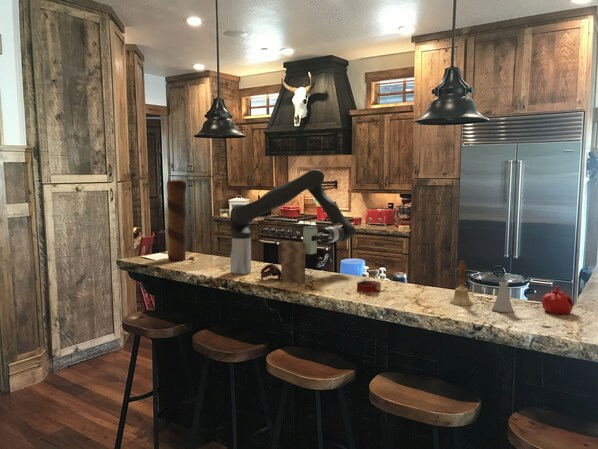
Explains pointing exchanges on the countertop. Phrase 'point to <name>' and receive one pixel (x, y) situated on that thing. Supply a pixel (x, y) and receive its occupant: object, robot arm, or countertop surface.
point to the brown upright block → (293, 263)
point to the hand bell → (461, 289)
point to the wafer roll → (176, 219)
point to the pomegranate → (557, 302)
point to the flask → (503, 300)
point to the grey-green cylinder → (310, 239)
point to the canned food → (369, 285)
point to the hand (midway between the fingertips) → (307, 238)
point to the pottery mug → (270, 271)
